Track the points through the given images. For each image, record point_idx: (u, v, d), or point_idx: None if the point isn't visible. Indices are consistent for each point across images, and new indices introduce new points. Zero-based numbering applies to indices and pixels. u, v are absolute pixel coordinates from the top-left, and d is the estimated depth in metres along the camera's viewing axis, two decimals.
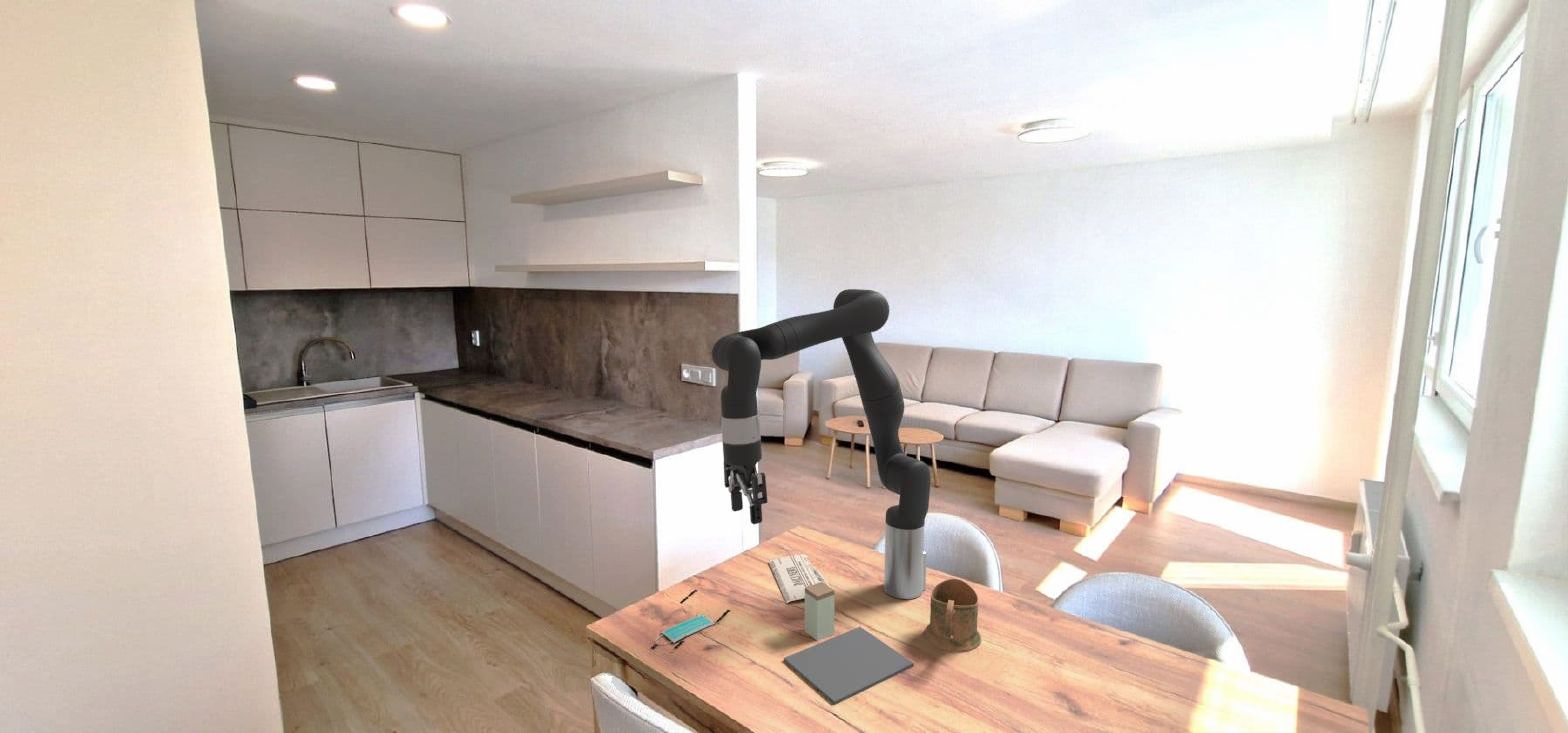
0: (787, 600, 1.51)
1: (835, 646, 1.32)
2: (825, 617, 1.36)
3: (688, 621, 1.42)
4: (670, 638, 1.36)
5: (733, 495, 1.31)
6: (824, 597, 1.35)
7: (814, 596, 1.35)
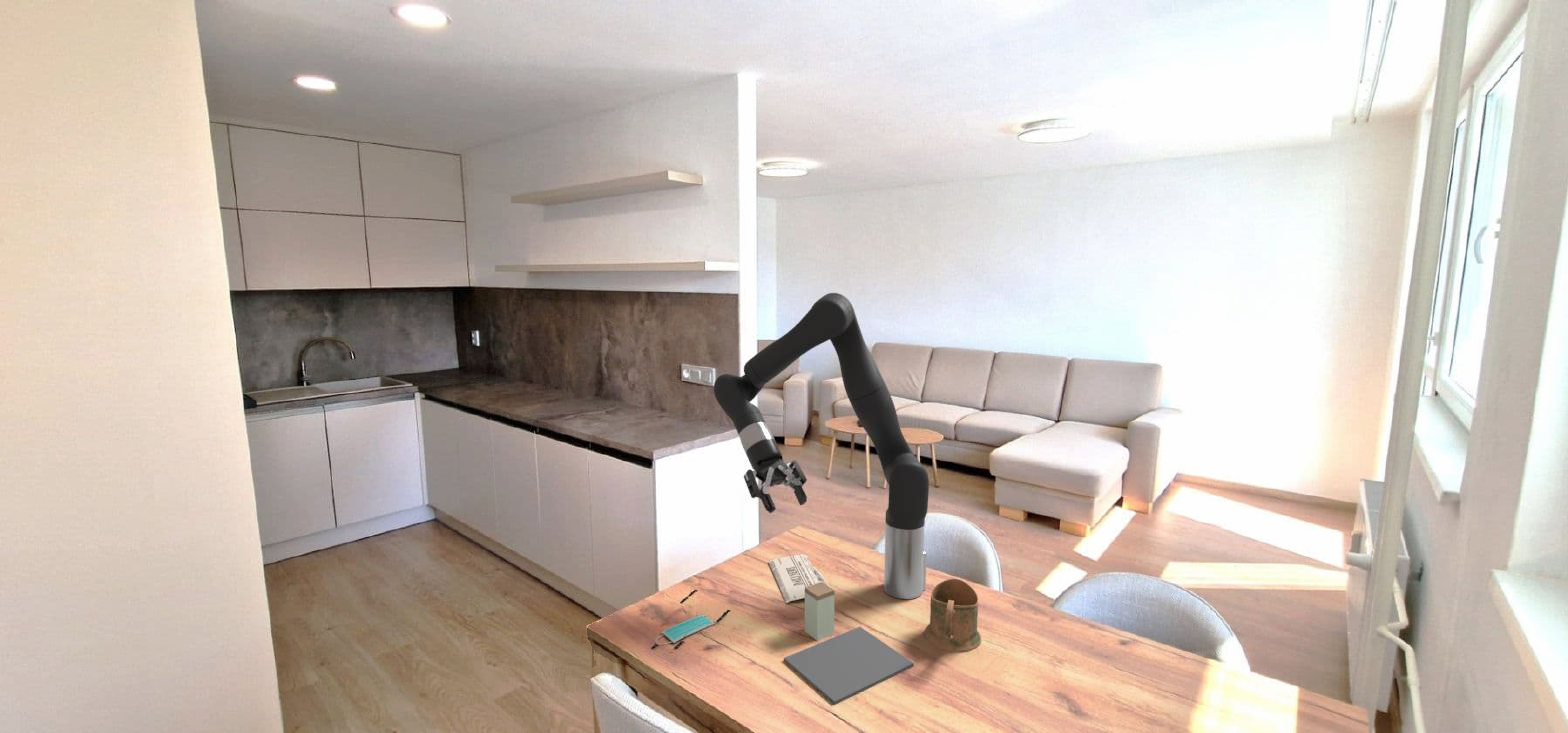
0: (787, 600, 1.51)
1: (835, 646, 1.32)
2: (825, 617, 1.36)
3: (688, 621, 1.42)
4: (670, 638, 1.36)
5: (794, 492, 1.49)
6: (824, 597, 1.35)
7: (814, 596, 1.35)
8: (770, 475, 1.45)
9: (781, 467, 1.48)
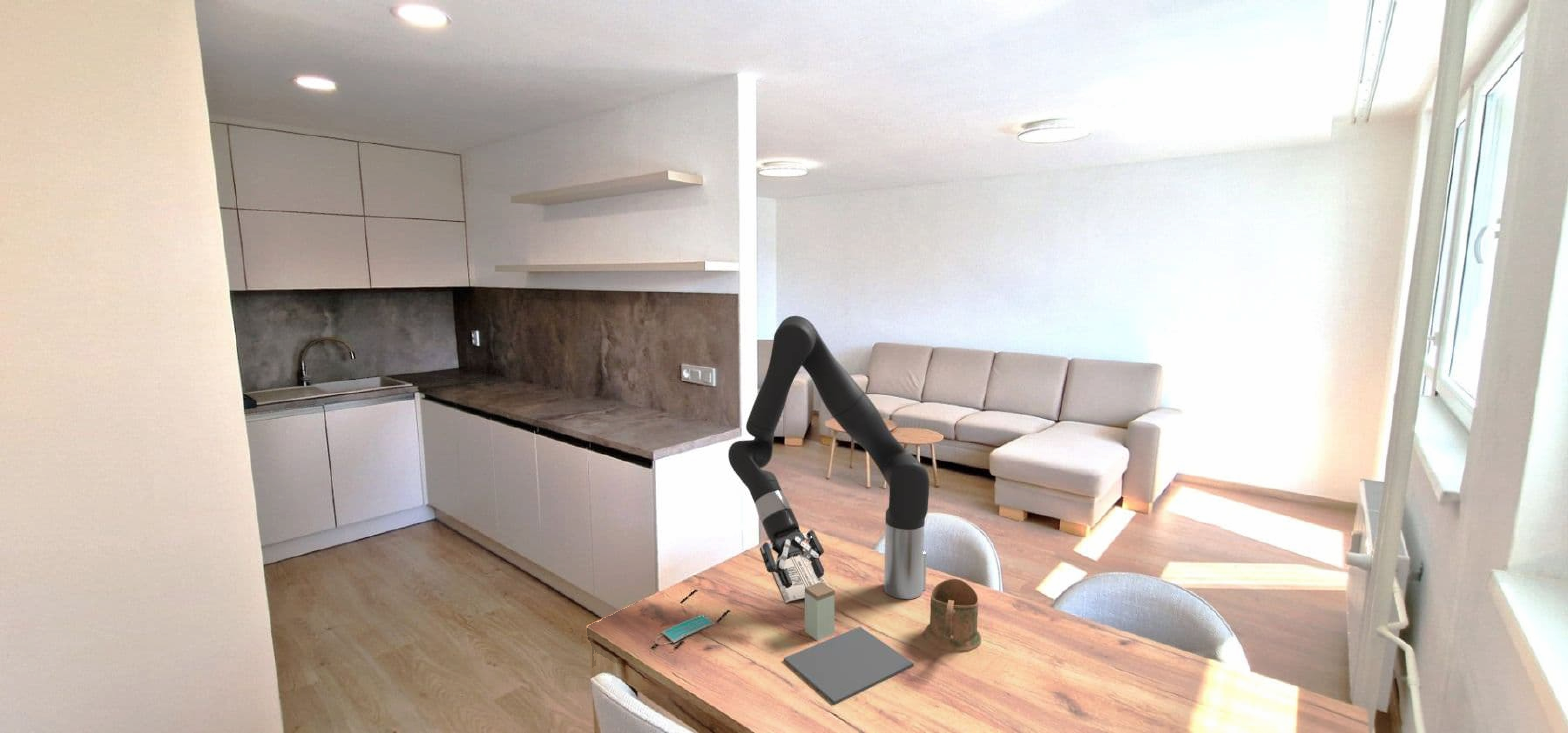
0: (787, 600, 1.51)
1: (835, 646, 1.32)
2: (825, 617, 1.36)
3: (688, 621, 1.42)
4: (670, 638, 1.36)
5: (811, 564, 1.46)
6: (824, 597, 1.35)
7: (814, 596, 1.35)
8: (787, 548, 1.43)
9: (798, 539, 1.45)
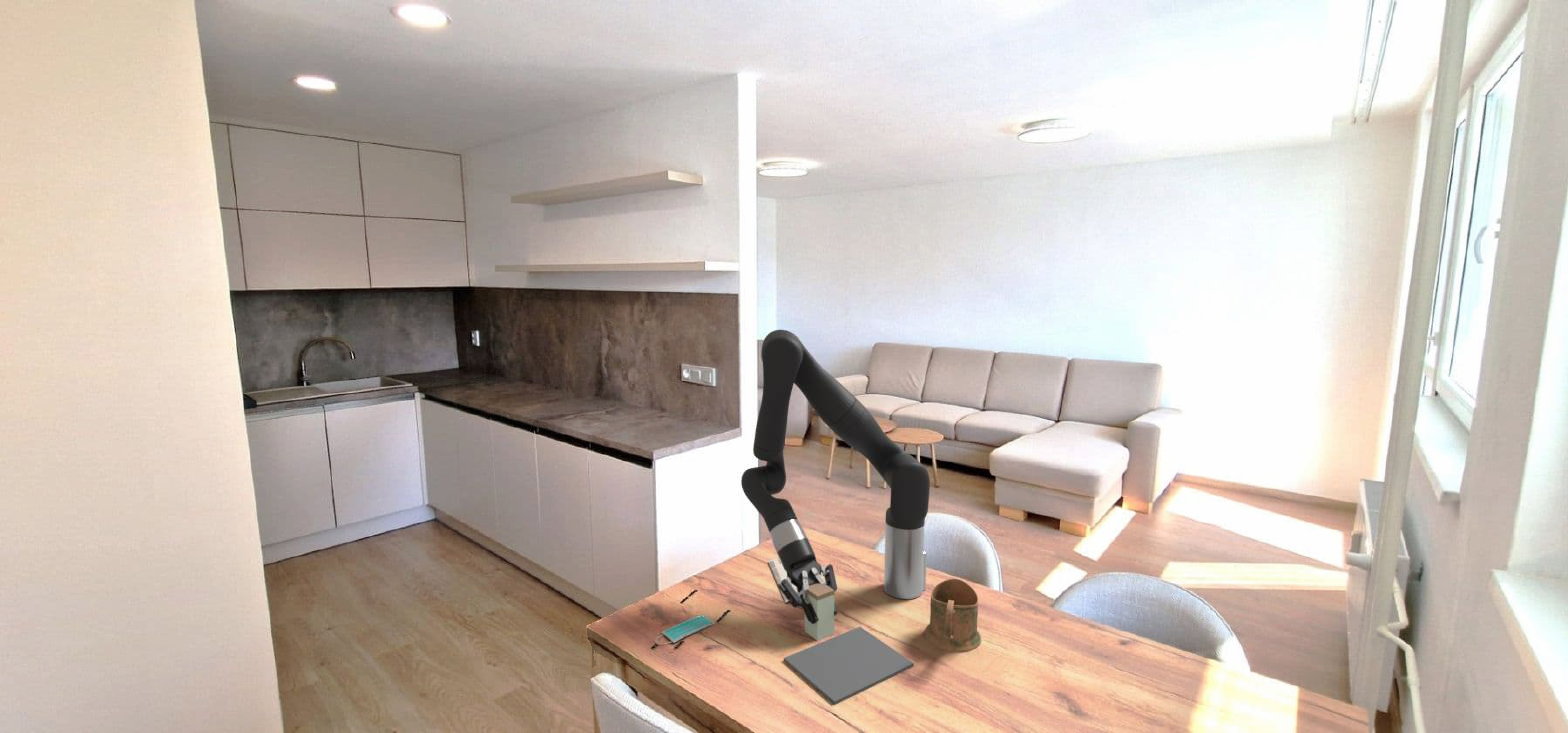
0: (786, 599, 1.52)
1: (835, 646, 1.32)
2: (825, 617, 1.36)
3: (688, 621, 1.42)
4: (670, 638, 1.36)
5: None
6: (824, 597, 1.35)
7: (814, 596, 1.35)
8: (806, 580, 1.38)
9: (815, 570, 1.41)
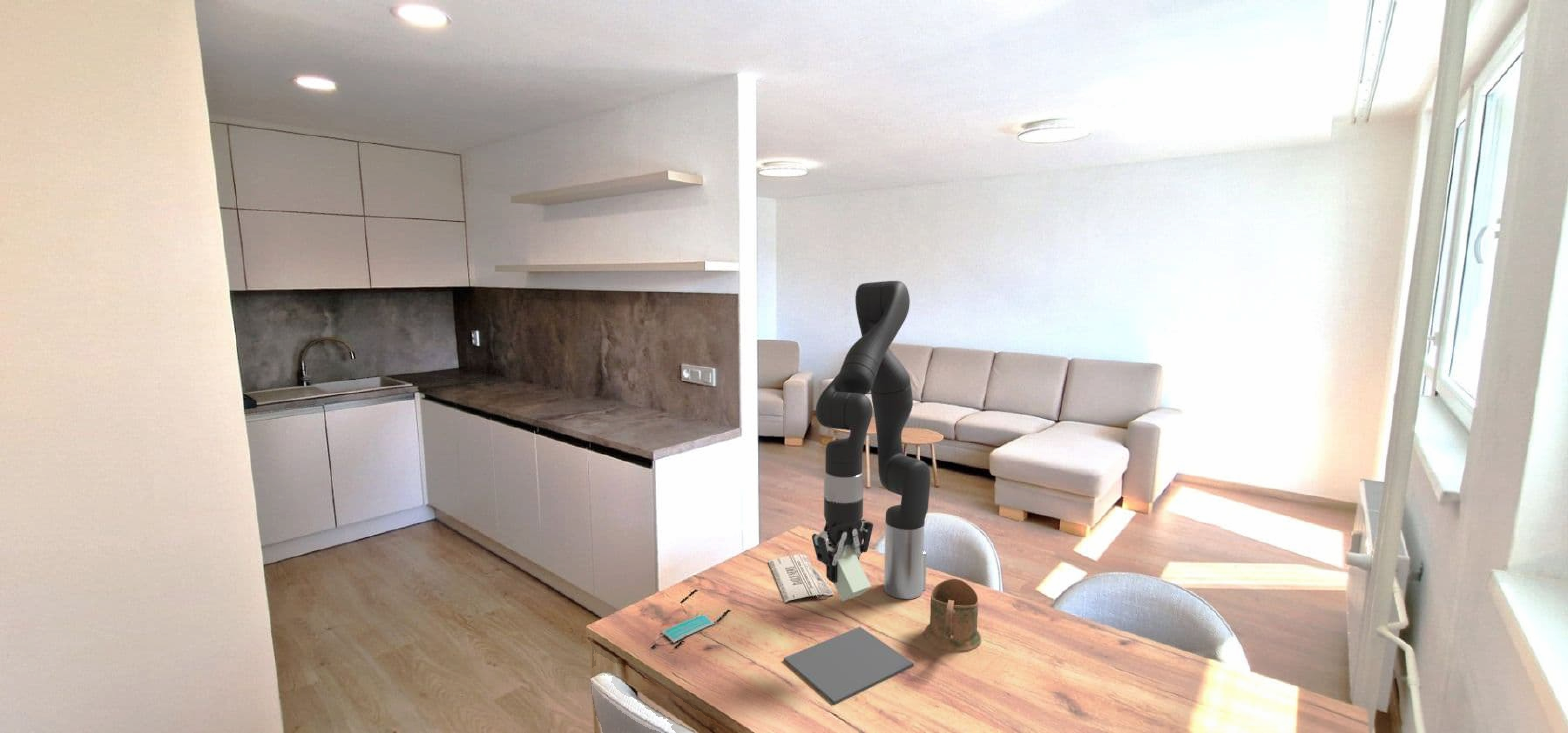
0: (786, 599, 1.52)
1: (835, 646, 1.32)
2: None
3: (688, 621, 1.42)
4: (670, 638, 1.36)
5: None
6: None
7: None
8: None
9: None
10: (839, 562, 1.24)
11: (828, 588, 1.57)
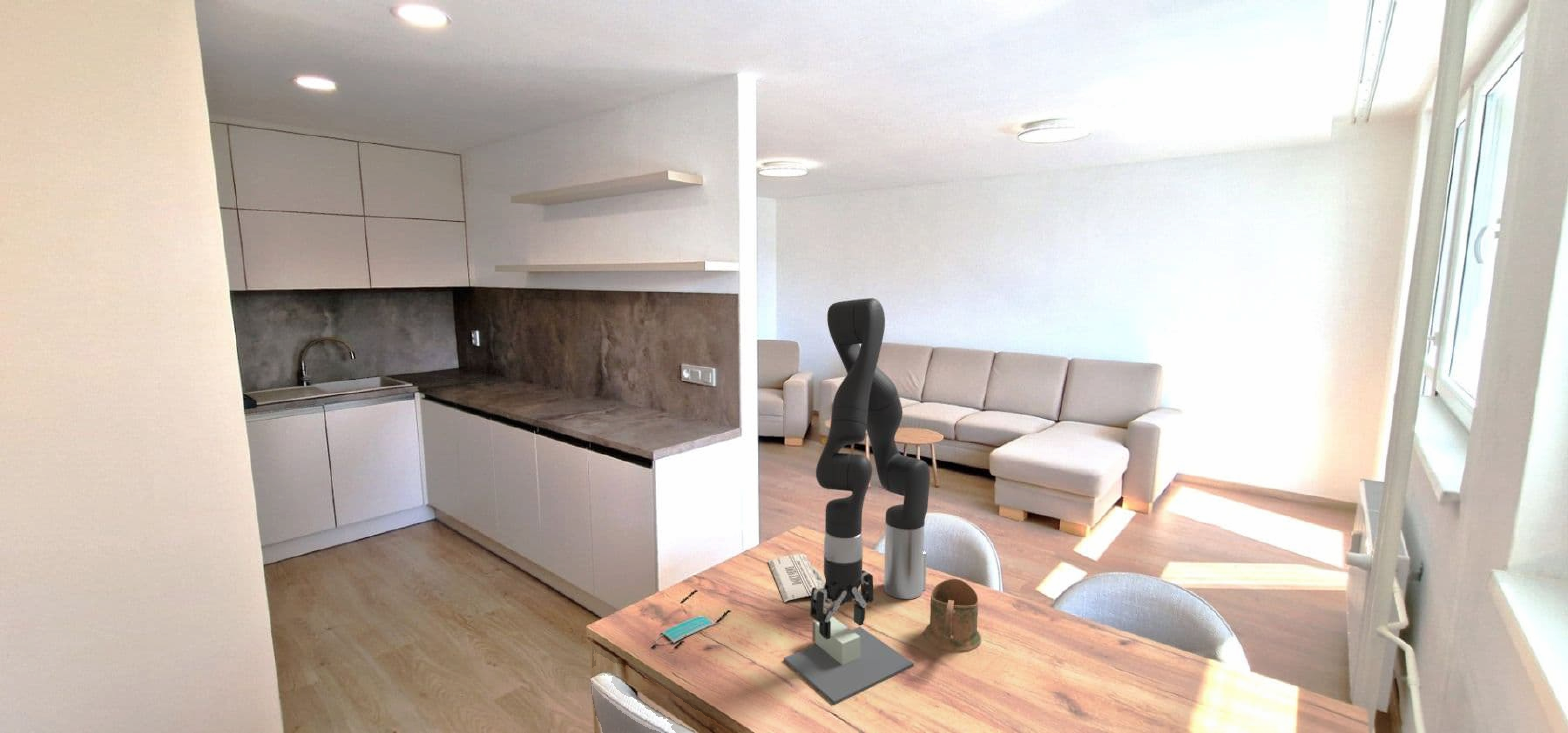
0: (785, 599, 1.52)
1: None
2: None
3: (688, 621, 1.42)
4: (670, 638, 1.36)
5: None
6: None
7: None
8: None
9: None
10: None
11: None
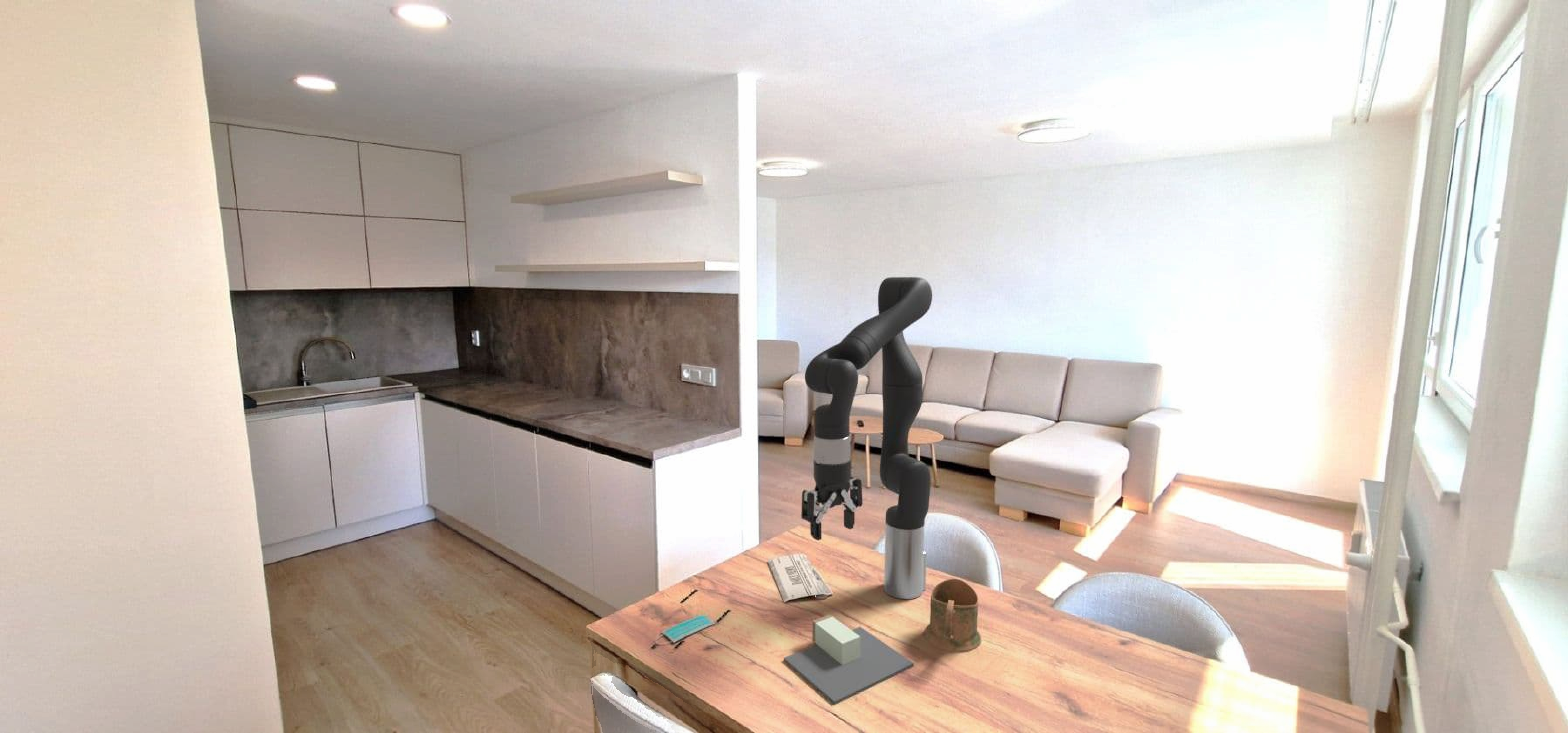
0: (785, 599, 1.52)
1: None
2: None
3: (688, 621, 1.42)
4: (670, 638, 1.36)
5: None
6: None
7: None
8: None
9: None
10: (824, 629, 1.31)
11: (827, 588, 1.57)
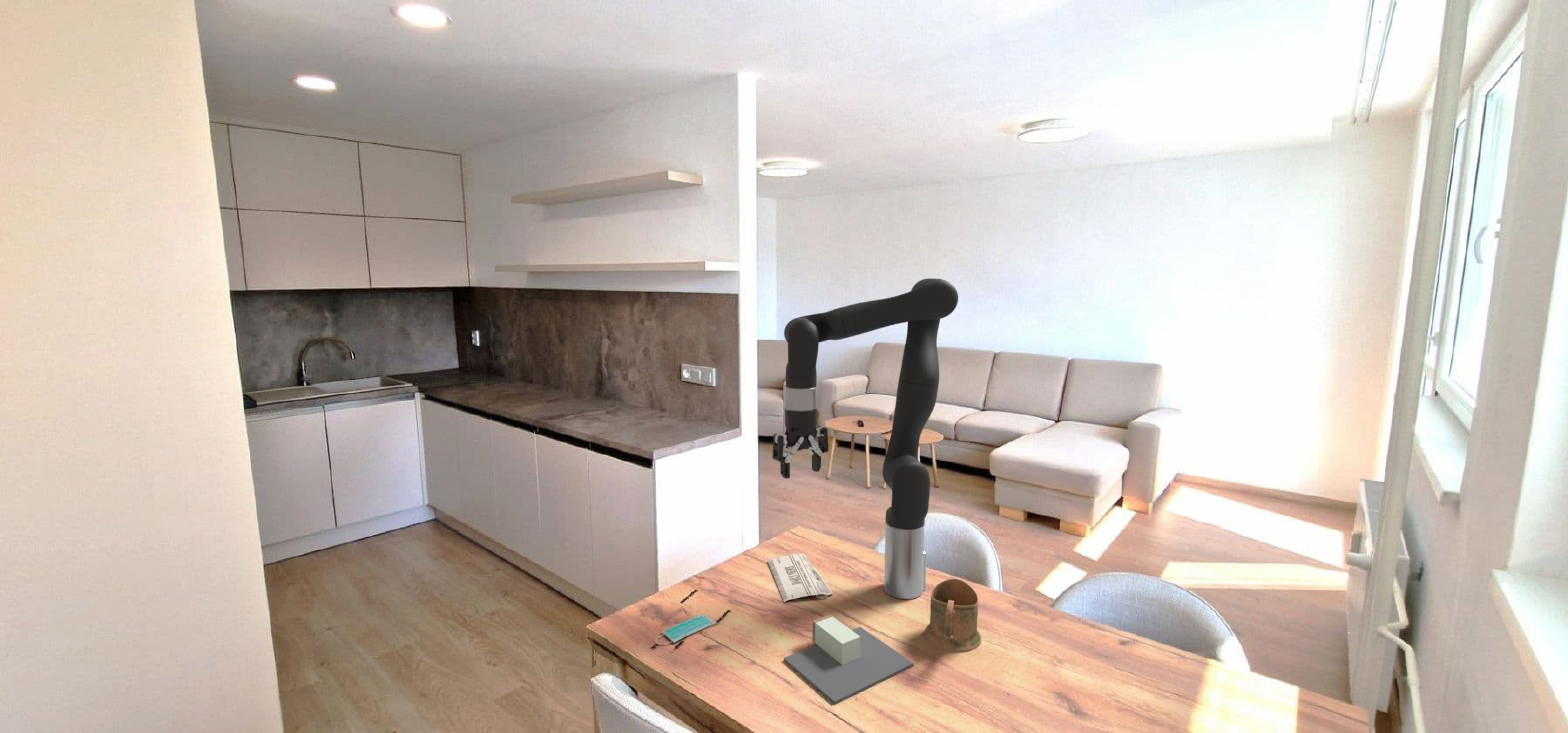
0: (785, 599, 1.52)
1: None
2: None
3: (688, 621, 1.42)
4: (670, 638, 1.36)
5: None
6: None
7: None
8: None
9: None
10: (824, 629, 1.31)
11: (827, 588, 1.57)
